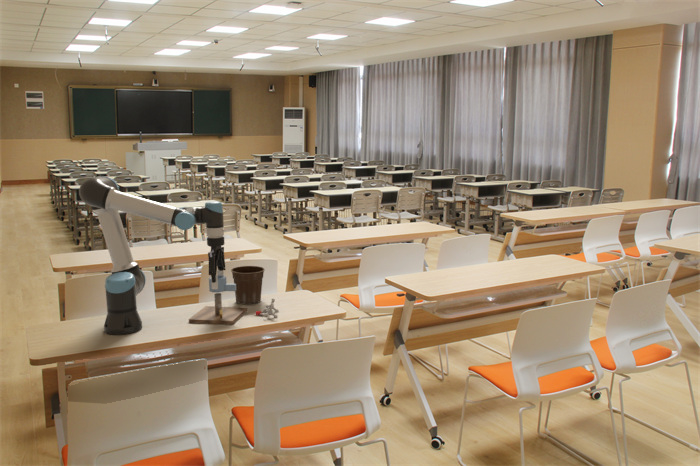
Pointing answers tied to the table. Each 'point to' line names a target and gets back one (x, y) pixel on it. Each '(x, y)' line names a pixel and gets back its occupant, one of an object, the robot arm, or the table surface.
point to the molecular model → (268, 310)
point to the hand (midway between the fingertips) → (218, 286)
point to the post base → (216, 318)
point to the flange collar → (222, 285)
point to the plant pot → (248, 283)
